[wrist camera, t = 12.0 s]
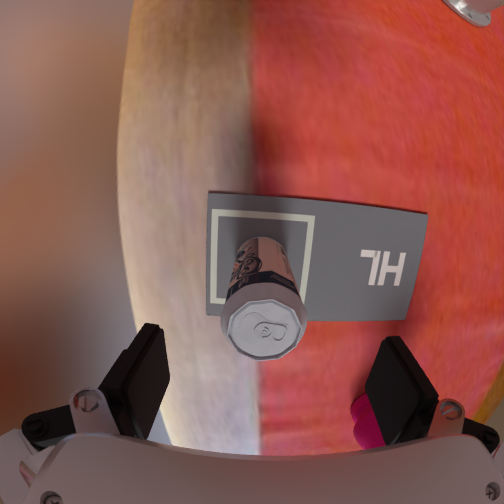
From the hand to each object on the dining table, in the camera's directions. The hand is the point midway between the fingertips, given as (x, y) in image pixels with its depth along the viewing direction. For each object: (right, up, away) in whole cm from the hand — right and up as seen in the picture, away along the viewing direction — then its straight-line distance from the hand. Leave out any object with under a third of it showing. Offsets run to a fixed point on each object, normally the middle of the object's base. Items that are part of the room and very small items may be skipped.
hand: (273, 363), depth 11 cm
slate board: (+6, +3, +15) cm, 16 cm away
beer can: (0, +4, +15) cm, 15 cm away
